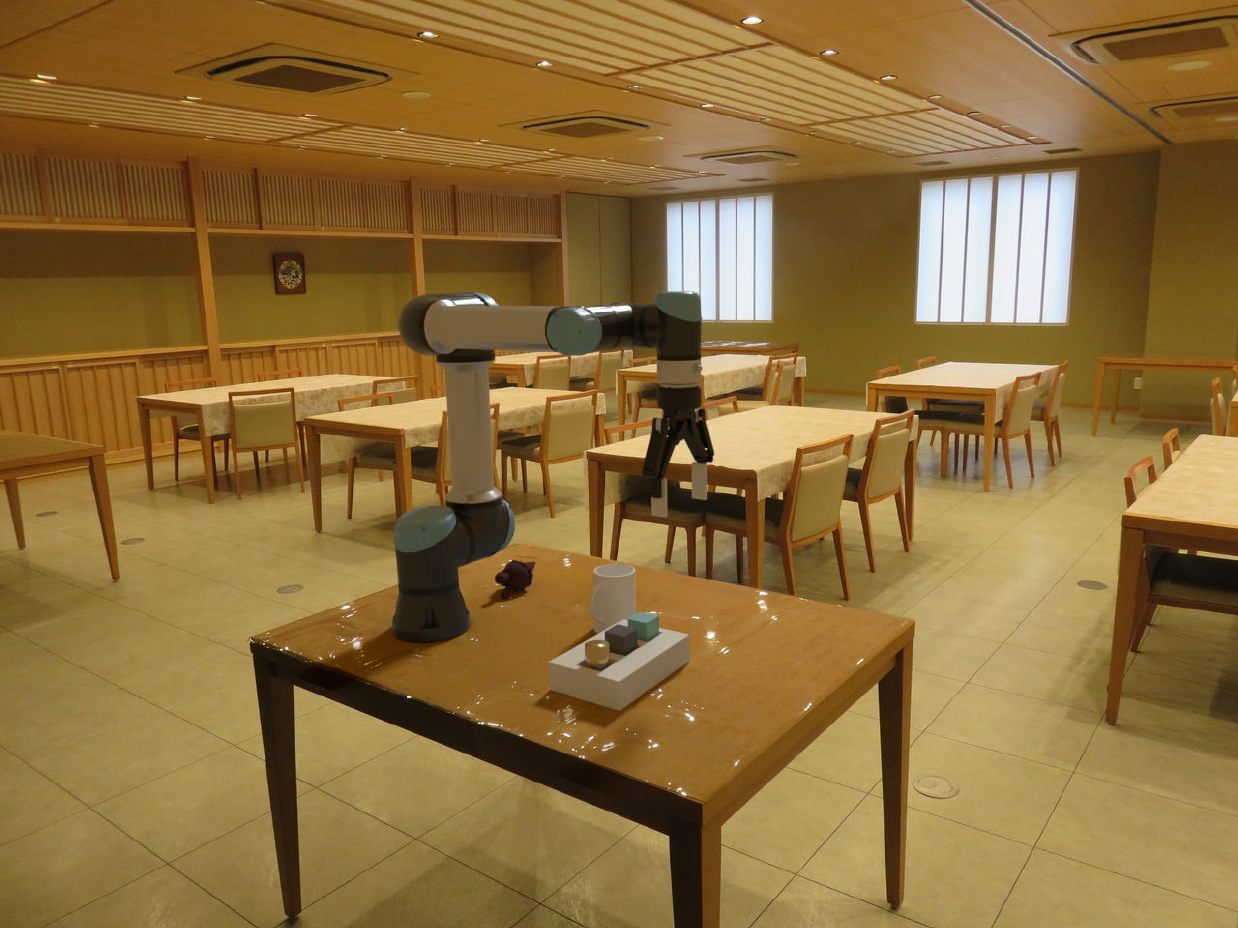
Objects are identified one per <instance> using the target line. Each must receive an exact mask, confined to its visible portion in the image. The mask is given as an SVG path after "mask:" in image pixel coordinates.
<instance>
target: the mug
mask: <svg viewBox="0 0 1238 928" xmlns="http://www.w3.org/2000/svg"><path fill="white" fill-rule="evenodd" d="M592 577H593V578H592V579H593V581H592V582H593V590H592V592H591V594H590V596H589V601H588V608H589V611H588V612H589V614H590V616H591V618H592V620H593V623H594V624H593V631H594V632H595V634H596V635H597V634H599V633H600V632H602V631H604V630H606V629H607V628H609V627H611V626H613V625H614V624H616V623H618V622H620V621H621V620H623V619H624V620H628V618H630V617H631V616H633V615H635V614H637V610H636V609H637V608H636V605H637V604H636V602H637V601H636V569H635V568H634V567H633V566H631V565H629V564H623V563H608V564H602V565H599V566H596V567H595V568H594V569H593V571H592Z"/></svg>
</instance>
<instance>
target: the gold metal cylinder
mask: <svg viewBox="0 0 1238 928" xmlns="http://www.w3.org/2000/svg"><path fill="white" fill-rule="evenodd" d="M585 665H586V668H590V669H593V670H597V671H603V670H605V669H606V668H608V667H609V666H610V654H609V643H608V642H607V641H605V640H591V641H588V642H586V643H585Z"/></svg>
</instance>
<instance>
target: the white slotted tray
mask: <svg viewBox="0 0 1238 928" xmlns="http://www.w3.org/2000/svg"><path fill="white" fill-rule="evenodd" d="M617 624H619V625H623V626H627V627H628V620H624V619H623V620H621V621H620V622H618V623H616V624H614V625H613V626H611V627H609V628H607V629H606V630H604V631H602V632H600V633H599V634H597V633H596V634H595V635H594V636H592V637H590V638H588V639H587V640H584V641H583V642H581V643H580V644H578V645H575V646H574V647H573V648H570V649H569V650H567V651H565V652H564V653H562V654H561V655H559V656H557V657H555V658H554V659H552V660H550V661H548V666H549V667H548V668H549V669H548V670H549V690H550V691H553V692H556V693H559V694H563V695H566V696H569V697H572V698H576V699H578V700H583V701H586V702H589V703H592V704H596V705H599V706H602V707H606V708H608V709H612V710H615V711H619V712H620V711H622V710H623V709H625V708H626V707H627V706H629V705H630V704H632V703H633V702H634V701H635V700H637V699H638V698H640V697H641V696H643V695H644V694H646V693H647V692H649V691H650V690H651V689H653V688H654V687H655V686H657V685H658V684H659V683H661V682H662V681H664V680H665V679H667V678H668V677H669V676H671V675H672V674H674V673H675V672H676V671H677V670H679V669H680V668H682V667H683V666H685V665H686V664H687V663H689V662H690V634H687V633H684V632H679V631H674V630H669V629H666V628H661V627H659V635H658V636H657V637H655V638H653V639H652V640H650V641H649V642H646V641H642V640H638V639H637V644H638V649H636V650H634V651H633V652H631V653H630V654H628V655H627V656H622V655H619V654H615V653H611V652H609V654H610V666H609V667H608V668H606V669H605V670H603V671H597V670H593V669H590V668H586V665H585V643H586V642H588V641H591V640H605V631H607V630H609V629H611V628H612V627H614V626H616V625H617Z"/></svg>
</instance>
